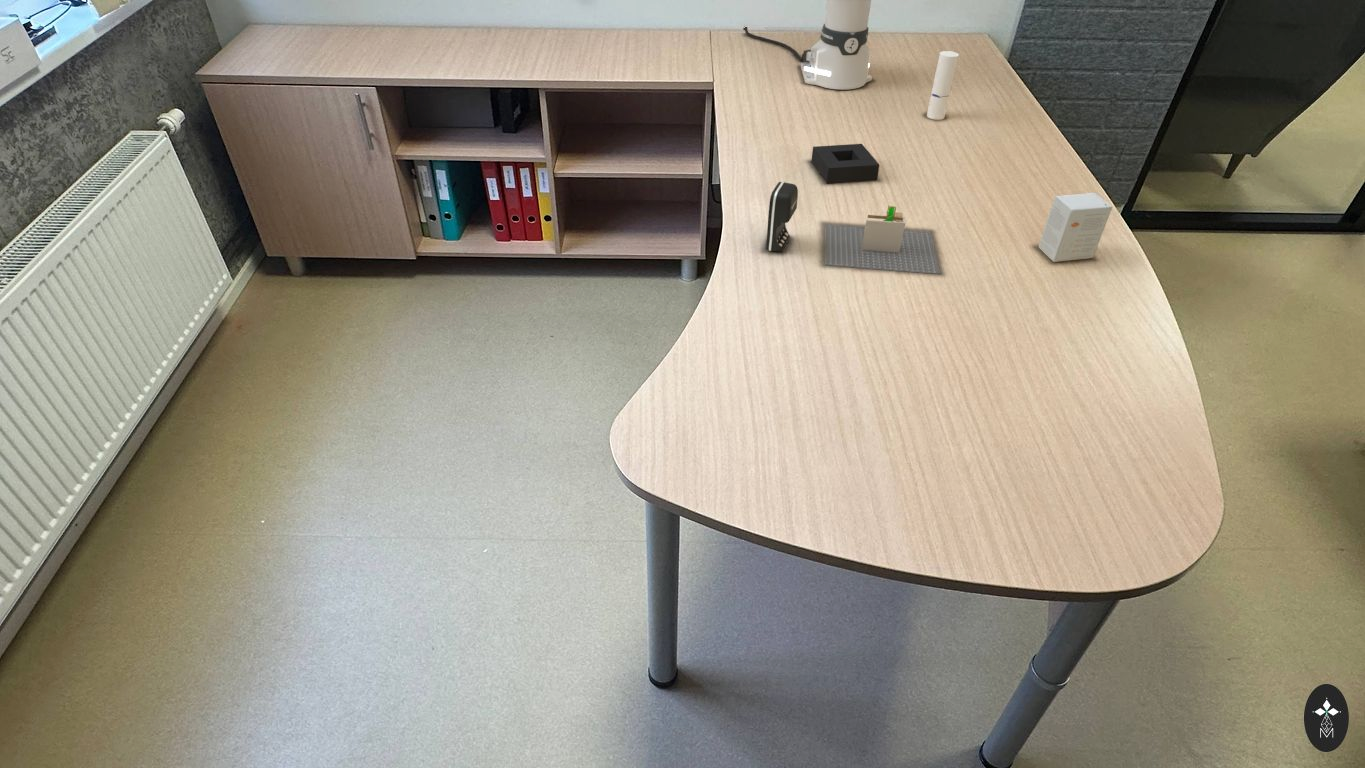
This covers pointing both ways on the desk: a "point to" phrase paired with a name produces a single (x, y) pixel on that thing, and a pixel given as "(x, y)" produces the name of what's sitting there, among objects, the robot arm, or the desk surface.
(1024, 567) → the desk surface
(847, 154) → the socket pad
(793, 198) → the black plastic handset
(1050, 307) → the desk surface
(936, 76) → the tube
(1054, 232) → the small box
